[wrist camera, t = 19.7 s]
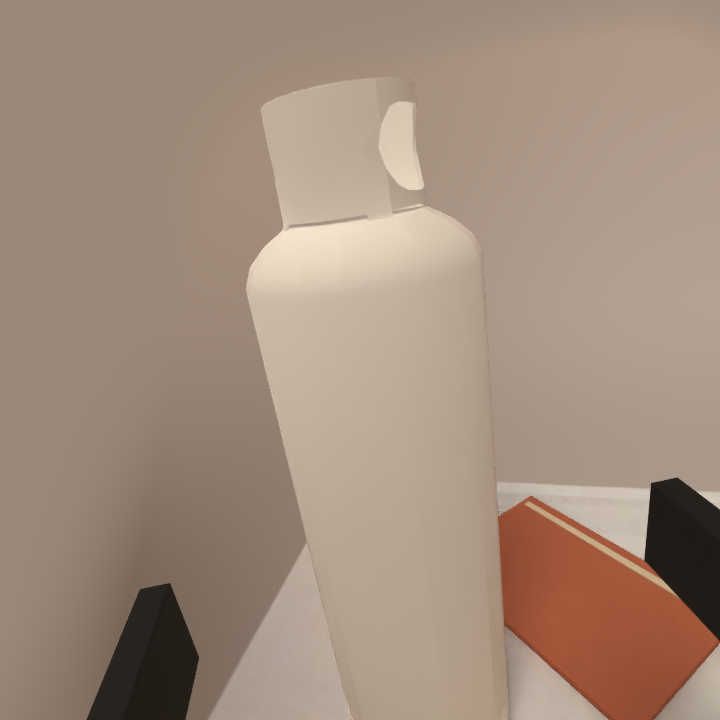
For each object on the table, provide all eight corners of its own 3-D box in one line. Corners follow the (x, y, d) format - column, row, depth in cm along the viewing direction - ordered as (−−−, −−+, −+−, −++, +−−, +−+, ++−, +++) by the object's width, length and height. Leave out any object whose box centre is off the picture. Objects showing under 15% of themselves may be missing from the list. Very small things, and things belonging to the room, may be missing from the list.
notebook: (435, 561, 33) (434, 556, 32) (531, 499, 37) (531, 494, 37) (634, 742, 21) (634, 735, 21) (738, 621, 26) (740, 614, 25)
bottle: (387, 616, 29) (300, 128, 19) (521, 658, 25) (498, 80, 16) (322, 754, 23) (140, 121, 13) (491, 838, 19) (417, 34, 9)
